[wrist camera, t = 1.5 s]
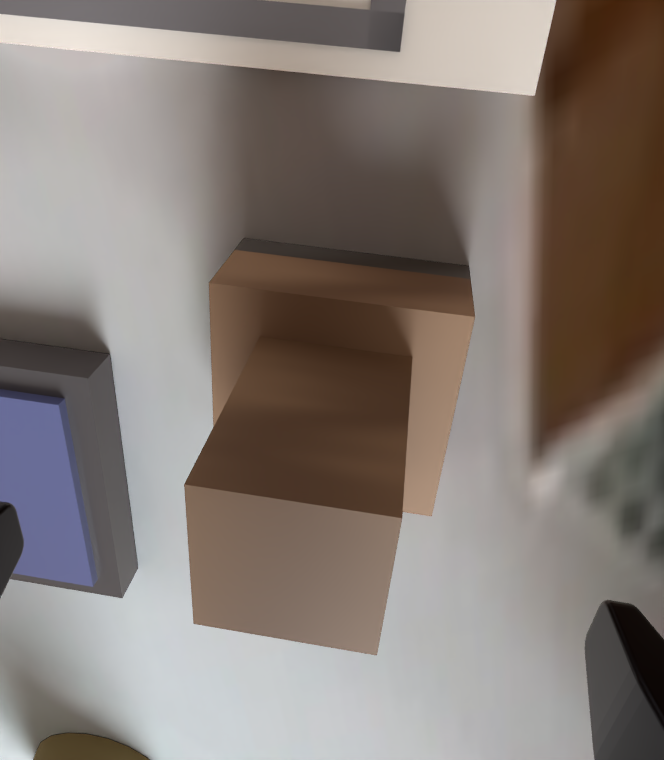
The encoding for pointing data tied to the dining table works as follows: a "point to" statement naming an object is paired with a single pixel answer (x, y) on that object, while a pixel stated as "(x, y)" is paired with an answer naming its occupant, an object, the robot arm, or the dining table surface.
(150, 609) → the dining table surface
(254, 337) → the stamp
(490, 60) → the print card
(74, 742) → the cork
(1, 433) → the ink pad
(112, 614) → the dining table surface
